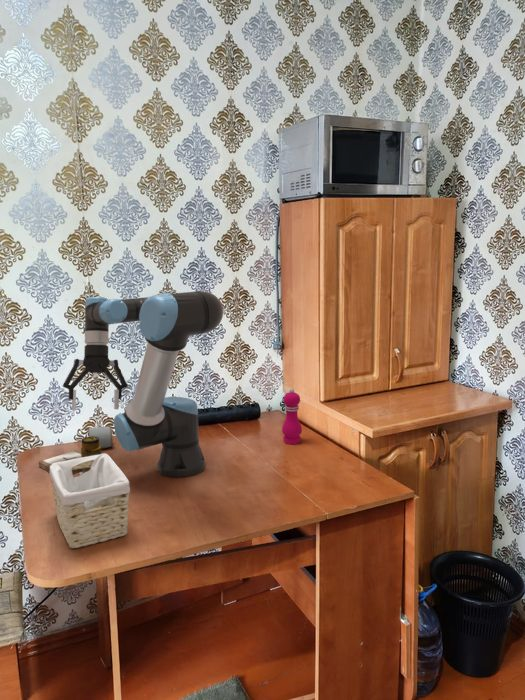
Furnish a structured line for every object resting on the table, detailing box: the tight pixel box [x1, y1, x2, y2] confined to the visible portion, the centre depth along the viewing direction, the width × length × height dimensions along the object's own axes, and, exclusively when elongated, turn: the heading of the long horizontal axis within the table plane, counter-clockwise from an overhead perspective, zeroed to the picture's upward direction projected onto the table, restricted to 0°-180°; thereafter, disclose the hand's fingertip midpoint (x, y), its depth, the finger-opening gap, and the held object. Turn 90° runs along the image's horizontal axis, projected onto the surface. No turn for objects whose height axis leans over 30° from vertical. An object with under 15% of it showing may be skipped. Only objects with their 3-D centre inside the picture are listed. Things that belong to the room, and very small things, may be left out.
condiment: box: [78, 436, 102, 476], centre depth 177 cm, size 7×8×12 cm
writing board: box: [38, 450, 83, 475], centre depth 186 cm, size 14×13×2 cm
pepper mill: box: [281, 387, 303, 445], centre depth 204 cm, size 7×7×20 cm
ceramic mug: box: [88, 426, 114, 449], centre depth 203 cm, size 11×8×8 cm
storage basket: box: [49, 453, 131, 549], centre depth 146 cm, size 24×16×15 cm
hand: (95, 409), depth 184 cm, fingers open, 13 cm apart
